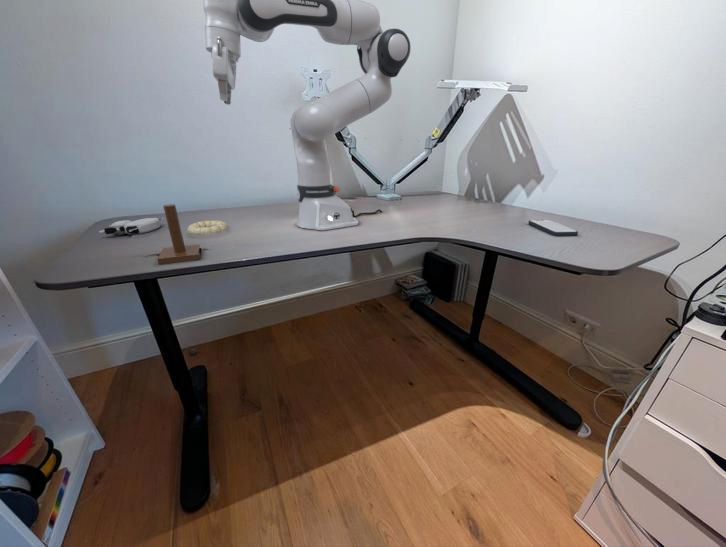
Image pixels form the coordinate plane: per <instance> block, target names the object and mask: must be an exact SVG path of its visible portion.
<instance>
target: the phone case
mask: <svg viewBox="0 0 726 547" xmlns="http://www.w3.org/2000/svg"><path fill="white" fill-rule="evenodd" d="M527 224H528V225H529V226H532V227H534V228H536V229H538V230H541V231H542V232H545V233H547V234H549V235H551V236H554V237H573V236H575V237H576V236H578V234H579V231H578V230H576V229H573V228H571V227H568V226H566V225H563V224H561V223H558V222H556V221H553V220H551V219H529V220H528V223H527Z"/></svg>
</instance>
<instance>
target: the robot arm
mask: <svg viewBox="0 0 726 547" xmlns="http://www.w3.org/2000/svg"><path fill="white" fill-rule="evenodd" d="M202 4H203V5H202V6H203V11H204V16H205V24H204V38H205V50H206V51H208V52H209V53H210V55H211V57H210V58H211V59H212V60H211V61H212V63H211V64H212V76H213V78H214V79H215V80H216V81H217V86H218V92H219V99H220V100H221V101H222V102H223V103H224V104H225V105H228V106H230V105H231V104H232V91H234V90H235V89H236V80H237V63H239V59H240V58H241V57H242V49H241V36H242V37H244V38H246V39H248V40H251V41H253V42H257V43H264V42H266V41H268V40H269V39H270V38H271V37H272V34H273V33H274V31H275V29H276V28H277V27H279V26H281V25H295V26H306V27H312V28H314V29H316V30H317V33H318V34H319V37H320V38H321V39H322V40H323V41H324V42H325V43H329V44H332V45H339V46H340V45H341V46H356V52H357V55H358V59H359V61H358V62H359V66H360V68H361V70H362V72H363V73H364V74H363V75H362V76H360V77H358V78H356V79H354V80H352V81H350V82H348V83H345V84H344V85H342V86H340V87H337V88H336V89H334V90H331V91H330V92H328V93H326V94H325V95H322V96H320V97H318V98H317V99H314V100H313V101H310V102H308V103H306V104H304V105H301V106H299V107H297V108H295V110H294V111H293V112H292V114H291V116H290V129H291V137H292V143H293V149H294V155H295V162H296V172H297V183H298V184H297V186H296V188H297V189H296V194H297V201H298V214H297V215H298V216H297V221H296V226H297V227H299V228H301V229H307V230H317V231H329V230H334V229H341V228H342V229H343V228H347V227H353V226H358V225H359V219H357V218H358V217H359V216H361V215H375V214H377V213H379V212H380V213H383V211H382V209H379V208H378V209H377V210H375V211H372V212H370V211H369V212H359V213H357V214H356V215H355V211H354V210H353V209H352V207H351V206H350V205H349V204H348V203H347V202H345V201H344V200H343V199H342V198H340V197H339V196H337V195H336V193H337V194H338V193H339V192H340V191H341V188H340V186H338V185H333V184H331V168H330V166H331V165H330V159H329V155H328V152H327V146H326V142H325V140H327V139H328V138H330V137H332V136H334V135H335V134H337V133H338V132H340V131H341V130H344V129H345V128H347V127H348V126H349V125H351V124H353V123H354V122H357V121H359V120H360V119H362V118H364V117H366V116H369V115H370V114H372V113H373V112H375V111H377V110H378V109H379V108H381V107H382V106H384V105H385V104H386V103H387V102H388V101H390V99H391V97H392V94H393V86H392V82H391V81H392V78H396V77H397V76H398V75H399V73H400V71H401V70H402V68H403V67H404V66H405V64H406V63H407V61H408V59H409V57H410V54H411V41H410V38H409V36H408V35H407V34H406V32H405V31H404V30H402V29H400V28H388V29H386V30H384V31H383V29H382V26H381V16H380V12H379V10H378V8H377V7H376V6H375V5H374V4H372V3H370V2H367V1H364V0H202Z"/></svg>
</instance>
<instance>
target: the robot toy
mask: <svg viewBox="0 0 726 547" xmlns="http://www.w3.org/2000/svg"><path fill="white" fill-rule="evenodd" d="M164 219H165V217H161V218H157V217H148V218H147V217H146V218H141V219H136V220H133V221H132V220H127V219H126V220H119V221H115V222H113V223H112V224H109V225H108V227H105V228H104V229H102V230H99V231H98V233H99V234H100V235H101V234H105V235H112V234H115V235H118V236H123V235H142V234H147V233H150V232H153V231H155V230H157V229H159V228H160V227H161V226H162V225H161V220H164Z"/></svg>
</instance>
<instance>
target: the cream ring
mask: <svg viewBox="0 0 726 547" xmlns="http://www.w3.org/2000/svg"><path fill="white" fill-rule="evenodd" d="M227 229H229V226H228V223H226V222H225V221H221V220H202V221H198V222H194V223H191V224H189V225H188V227H187V229H186V232H187V233H190V234H196V235H199V234H200V235H203V234H214V233H215V234H216V233H219V232H222V231H225V230H227Z"/></svg>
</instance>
